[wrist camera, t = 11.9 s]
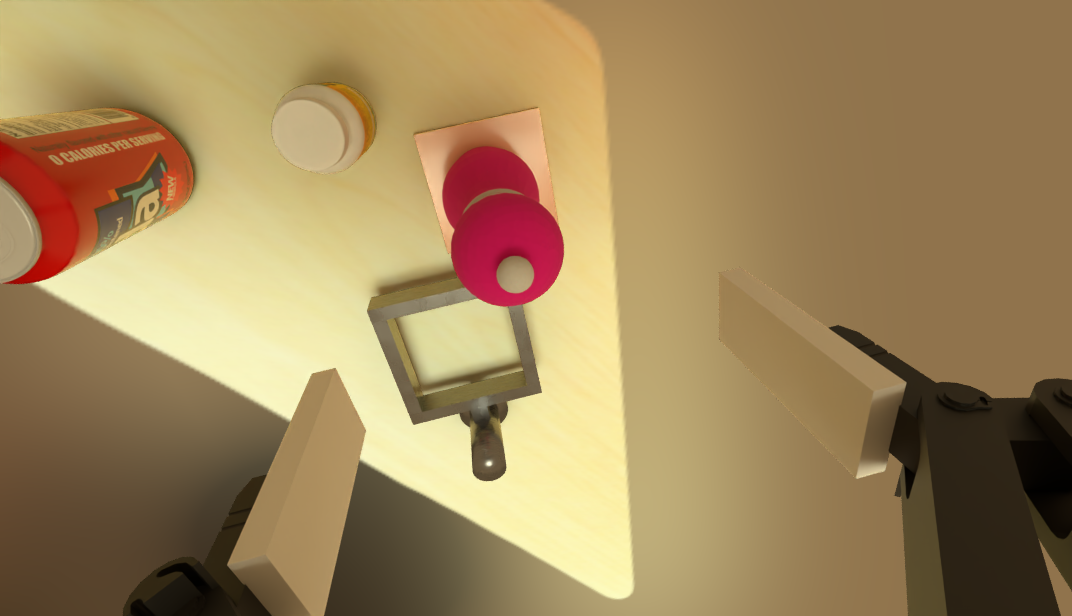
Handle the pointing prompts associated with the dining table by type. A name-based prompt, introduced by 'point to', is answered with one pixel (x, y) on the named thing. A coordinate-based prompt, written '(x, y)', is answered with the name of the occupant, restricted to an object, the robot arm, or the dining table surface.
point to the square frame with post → (473, 401)
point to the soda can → (82, 186)
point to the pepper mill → (500, 228)
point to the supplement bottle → (323, 127)
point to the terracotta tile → (501, 132)
